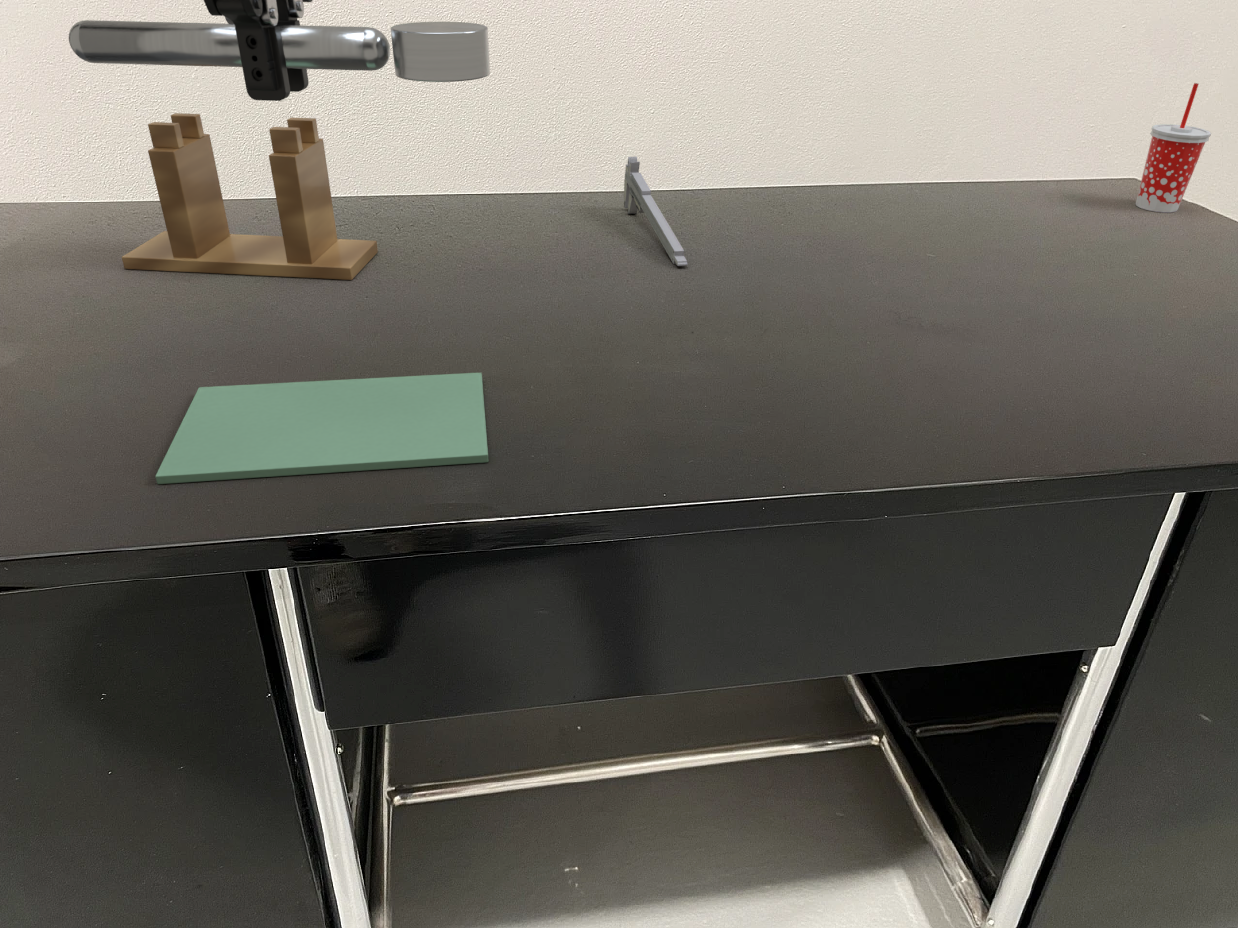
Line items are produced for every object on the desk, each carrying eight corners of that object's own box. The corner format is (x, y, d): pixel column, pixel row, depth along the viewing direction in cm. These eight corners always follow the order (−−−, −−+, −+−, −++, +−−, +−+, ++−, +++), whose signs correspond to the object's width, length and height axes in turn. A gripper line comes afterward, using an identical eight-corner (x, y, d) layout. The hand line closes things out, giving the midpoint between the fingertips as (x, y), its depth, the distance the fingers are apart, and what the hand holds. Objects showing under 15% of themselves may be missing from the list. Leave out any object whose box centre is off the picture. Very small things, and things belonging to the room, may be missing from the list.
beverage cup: (1182, 217, 109) (1225, 90, 101) (1125, 208, 112) (1163, 84, 104) (1186, 205, 113) (1228, 82, 106) (1131, 197, 116) (1168, 77, 109)
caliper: (622, 209, 107) (624, 153, 104) (631, 209, 108) (633, 153, 104) (677, 269, 91) (681, 204, 87) (688, 268, 91) (691, 204, 88)
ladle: (51, 71, 51) (37, 23, 50) (103, 58, 55) (92, 13, 54) (479, 83, 49) (476, 34, 48) (498, 68, 54) (495, 22, 52)
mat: (157, 484, 57) (154, 476, 56) (200, 394, 67) (198, 387, 66) (488, 462, 59) (488, 454, 59) (482, 379, 69) (481, 372, 69)
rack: (124, 269, 88) (85, 125, 81) (166, 242, 95) (133, 108, 88) (352, 280, 86) (331, 135, 80) (378, 252, 93) (361, 116, 86)
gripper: (205, -272, 50) (264, 73, 59) (50, -323, 38) (154, 117, 47) (341, -271, 50) (380, 76, 59) (227, -323, 38) (298, 122, 47)
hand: (279, 93), depth 53 cm, fingers closed on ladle, 2 cm apart
